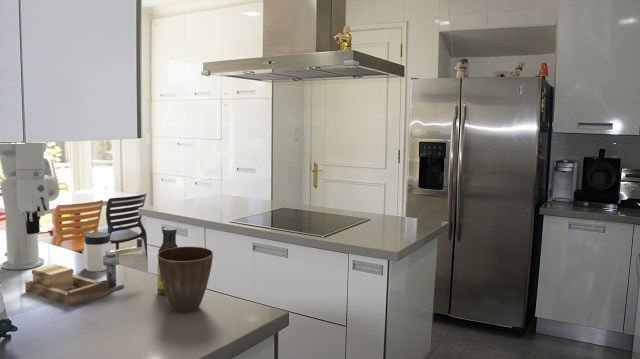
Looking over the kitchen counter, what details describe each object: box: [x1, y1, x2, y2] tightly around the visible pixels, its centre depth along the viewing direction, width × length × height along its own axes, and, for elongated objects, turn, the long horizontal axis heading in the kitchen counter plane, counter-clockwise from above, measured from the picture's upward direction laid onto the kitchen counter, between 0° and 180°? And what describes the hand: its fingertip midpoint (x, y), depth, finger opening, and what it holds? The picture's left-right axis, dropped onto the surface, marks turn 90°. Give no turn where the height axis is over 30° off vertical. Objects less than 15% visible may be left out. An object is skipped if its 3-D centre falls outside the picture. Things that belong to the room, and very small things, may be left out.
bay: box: [24, 274, 110, 307], centre depth 148 cm, size 22×12×4 cm, turn 61°
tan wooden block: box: [31, 263, 74, 291], centre depth 151 cm, size 9×7×6 cm
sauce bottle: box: [156, 227, 179, 296], centre depth 150 cm, size 6×6×20 cm
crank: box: [105, 238, 143, 257], centre depth 155 cm, size 12×3×4 cm, turn 137°
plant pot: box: [157, 246, 214, 314], centre depth 138 cm, size 15×15×16 cm
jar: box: [83, 231, 112, 272], centre depth 172 cm, size 9×8×12 cm
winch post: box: [103, 254, 125, 293], centre depth 153 cm, size 5×5×10 cm
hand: (33, 233), depth 153 cm, fingers closed
